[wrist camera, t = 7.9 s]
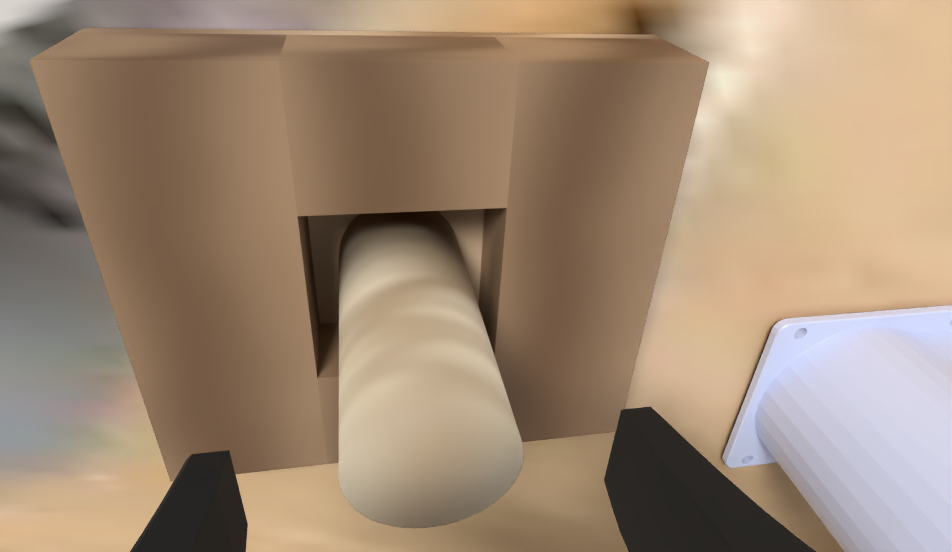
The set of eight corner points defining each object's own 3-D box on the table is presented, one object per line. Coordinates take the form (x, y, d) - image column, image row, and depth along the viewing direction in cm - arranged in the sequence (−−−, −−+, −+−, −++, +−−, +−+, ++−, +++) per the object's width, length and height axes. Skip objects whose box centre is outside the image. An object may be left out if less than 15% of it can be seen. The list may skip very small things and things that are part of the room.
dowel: (458, 196, 17) (529, 390, 11) (457, 296, 19) (518, 513, 13) (332, 204, 17) (328, 414, 10) (345, 307, 19) (348, 539, 12)
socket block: (653, 34, 16) (709, 62, 14) (588, 371, 23) (618, 431, 20) (84, 27, 14) (29, 60, 11) (191, 408, 20) (170, 481, 18)
